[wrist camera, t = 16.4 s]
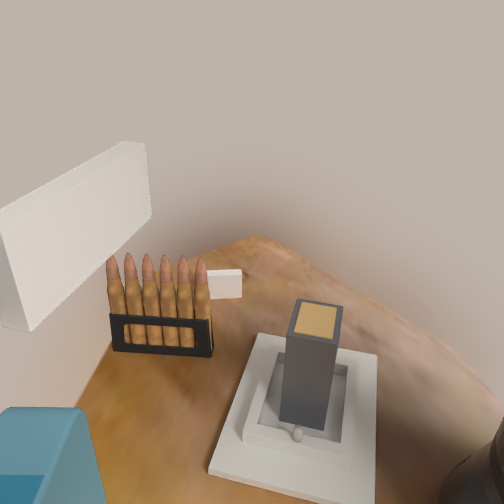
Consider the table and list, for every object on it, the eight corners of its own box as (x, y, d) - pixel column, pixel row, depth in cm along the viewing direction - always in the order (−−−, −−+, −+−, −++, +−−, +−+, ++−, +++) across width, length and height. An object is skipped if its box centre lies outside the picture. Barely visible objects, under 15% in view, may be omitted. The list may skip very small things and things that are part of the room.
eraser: (203, 294, 57) (202, 270, 55) (240, 292, 58) (241, 269, 56) (203, 299, 56) (202, 276, 54) (241, 298, 56) (242, 274, 55)
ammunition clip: (213, 346, 49) (211, 252, 43) (211, 358, 47) (209, 262, 41) (118, 339, 49) (103, 246, 43) (113, 351, 47) (96, 256, 41)
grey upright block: (329, 388, 43) (343, 305, 38) (323, 431, 38) (338, 344, 33) (289, 379, 43) (297, 297, 38) (278, 420, 39) (286, 334, 34)
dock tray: (375, 360, 47) (381, 335, 45) (372, 517, 33) (380, 490, 31) (258, 337, 50) (259, 313, 48) (208, 474, 36) (207, 446, 34)
